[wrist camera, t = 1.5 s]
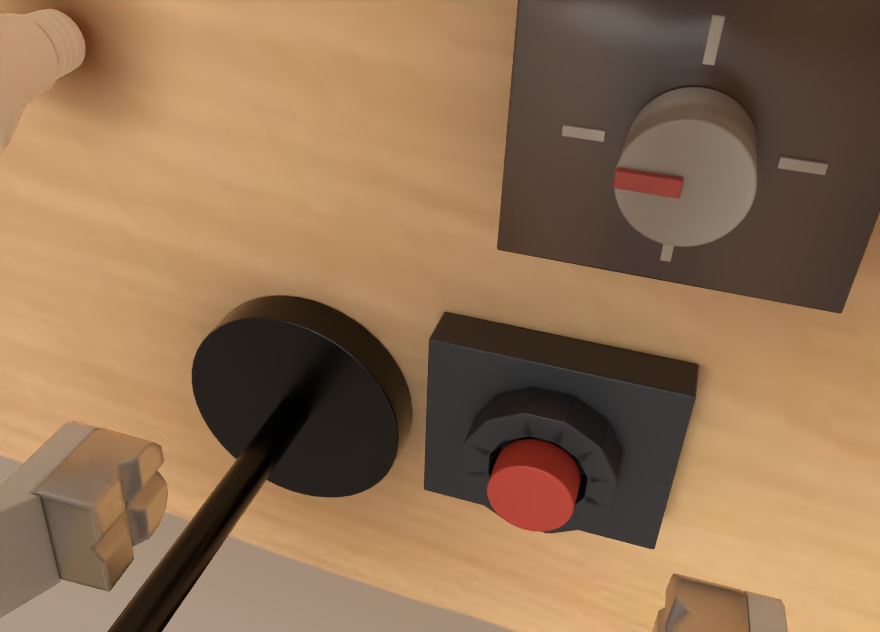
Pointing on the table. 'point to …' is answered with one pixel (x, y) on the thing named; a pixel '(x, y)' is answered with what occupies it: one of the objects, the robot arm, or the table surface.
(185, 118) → the table surface
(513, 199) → the panel
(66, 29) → the lightbulb
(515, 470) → the button
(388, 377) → the desk lamp
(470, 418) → the switch block
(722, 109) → the dimmer knob
